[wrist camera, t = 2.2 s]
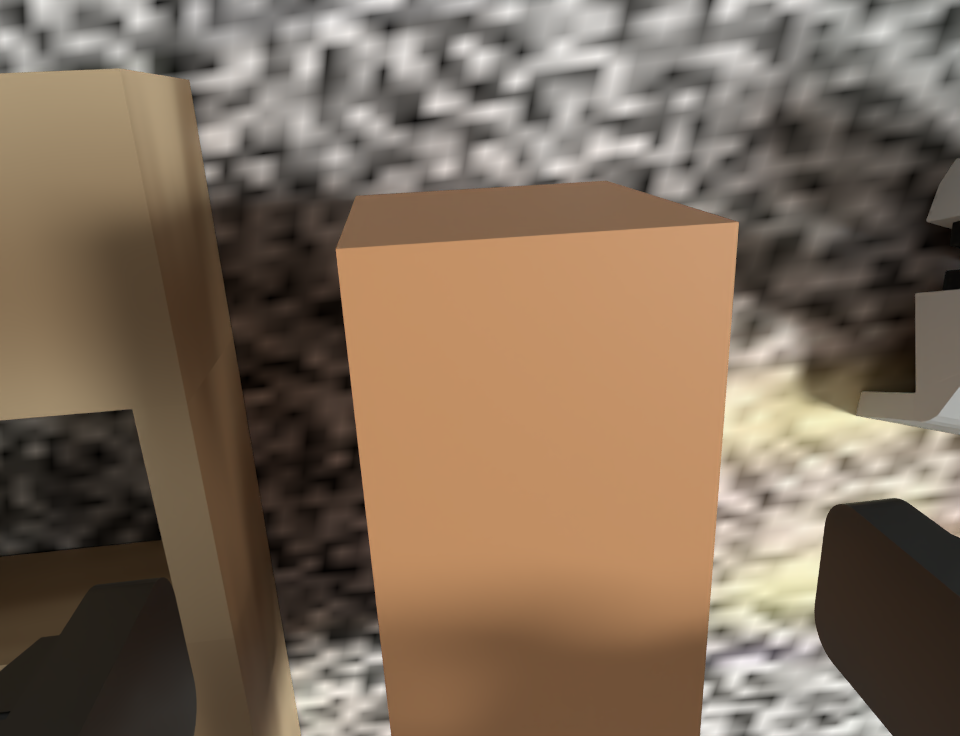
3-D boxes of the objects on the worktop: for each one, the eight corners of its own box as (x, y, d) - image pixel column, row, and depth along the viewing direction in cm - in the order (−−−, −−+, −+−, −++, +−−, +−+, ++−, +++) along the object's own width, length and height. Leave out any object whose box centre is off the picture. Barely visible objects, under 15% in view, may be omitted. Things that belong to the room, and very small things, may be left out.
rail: (-242, 98, 10) (-478, 93, 7) (189, 80, 11) (119, 67, 8) (63, 937, 16) (-4, 1107, 14) (328, 896, 17) (316, 1052, 14)
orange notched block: (364, 172, 12) (335, 249, 5) (546, 162, 12) (739, 221, 5) (408, 625, 15) (425, 1035, 8) (552, 608, 15) (680, 992, 8)
